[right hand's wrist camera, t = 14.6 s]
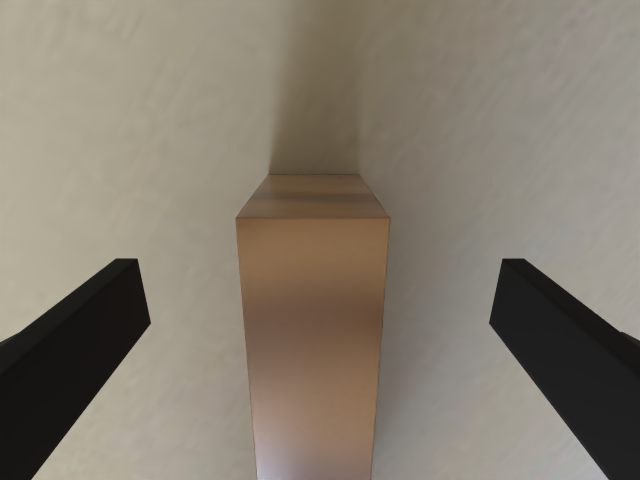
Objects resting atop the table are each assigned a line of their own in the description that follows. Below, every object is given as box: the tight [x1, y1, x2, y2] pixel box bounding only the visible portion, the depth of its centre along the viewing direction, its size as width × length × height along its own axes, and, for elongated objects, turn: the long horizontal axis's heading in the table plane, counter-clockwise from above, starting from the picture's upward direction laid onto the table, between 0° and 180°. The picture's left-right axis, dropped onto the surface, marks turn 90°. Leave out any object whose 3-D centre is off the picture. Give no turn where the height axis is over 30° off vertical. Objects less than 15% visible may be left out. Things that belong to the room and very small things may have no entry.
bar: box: [235, 175, 390, 480], centre depth 21 cm, size 27×6×9 cm, turn 0°
